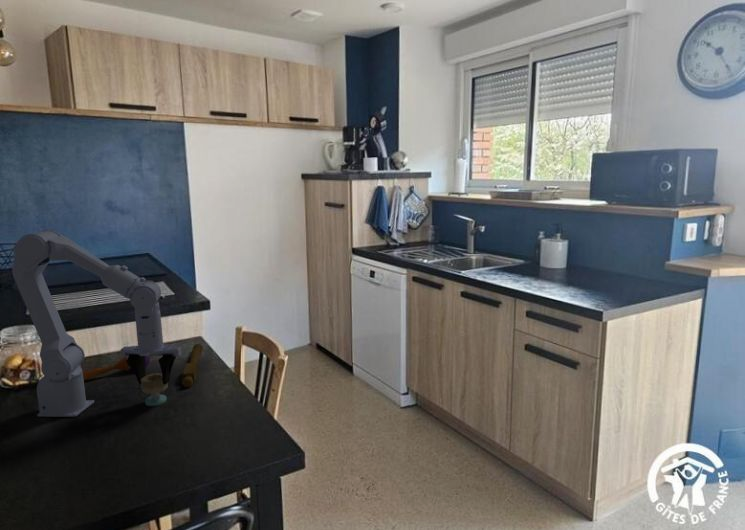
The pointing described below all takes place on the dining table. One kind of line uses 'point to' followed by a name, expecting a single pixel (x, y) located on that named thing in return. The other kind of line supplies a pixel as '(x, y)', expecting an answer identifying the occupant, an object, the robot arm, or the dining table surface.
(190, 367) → the wooden baluster
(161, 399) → the toy mushroom
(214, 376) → the dining table surface
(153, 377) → the ring
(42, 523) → the dining table surface
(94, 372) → the kendama
